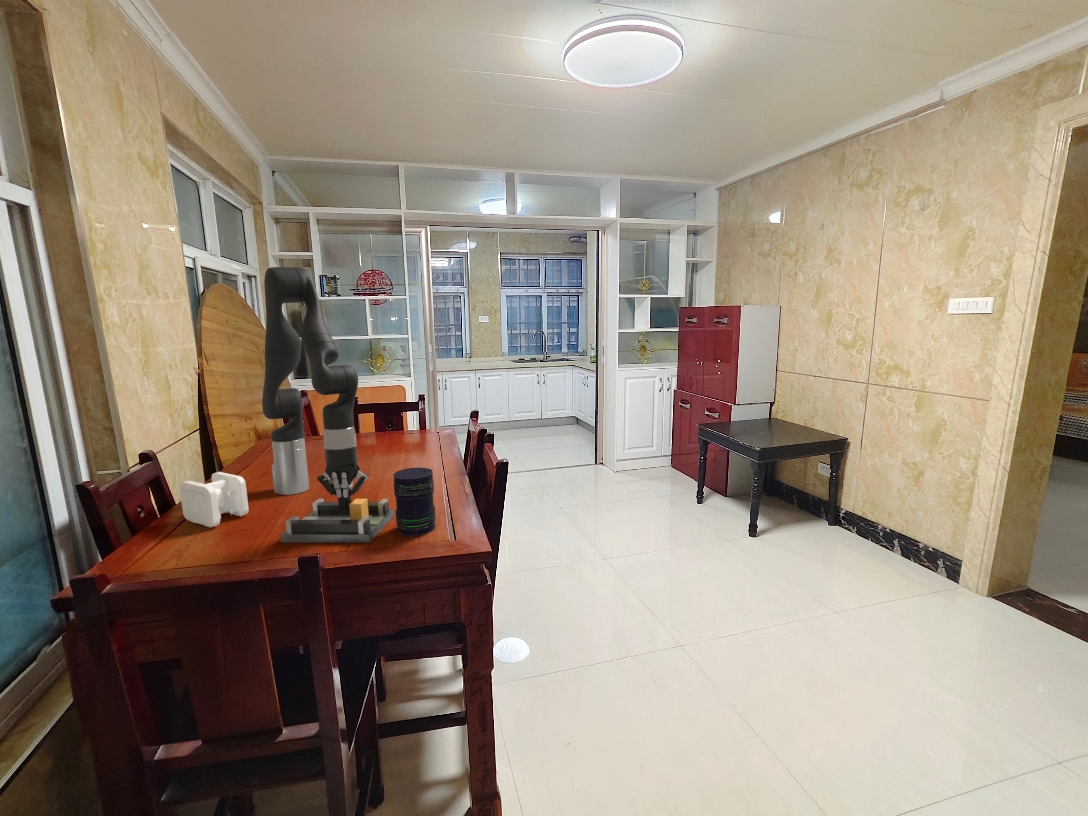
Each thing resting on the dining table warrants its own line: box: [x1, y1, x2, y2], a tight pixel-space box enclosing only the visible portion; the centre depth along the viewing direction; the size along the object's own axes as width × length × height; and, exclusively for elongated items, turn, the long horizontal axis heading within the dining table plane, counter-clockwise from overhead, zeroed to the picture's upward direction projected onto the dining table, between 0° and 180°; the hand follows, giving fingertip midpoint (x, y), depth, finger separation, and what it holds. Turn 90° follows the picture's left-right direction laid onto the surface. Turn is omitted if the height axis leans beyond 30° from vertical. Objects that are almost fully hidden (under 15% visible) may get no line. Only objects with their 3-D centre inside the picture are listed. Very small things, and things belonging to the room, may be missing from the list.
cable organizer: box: [178, 471, 249, 528], centre depth 133 cm, size 15×11×12 cm
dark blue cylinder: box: [393, 467, 437, 537], centre depth 124 cm, size 10×10×15 cm
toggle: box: [349, 498, 372, 520], centre depth 125 cm, size 4×4×5 cm
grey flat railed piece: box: [280, 498, 395, 544], centre depth 125 cm, size 22×17×5 cm
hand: (345, 509), depth 125 cm, fingers closed
